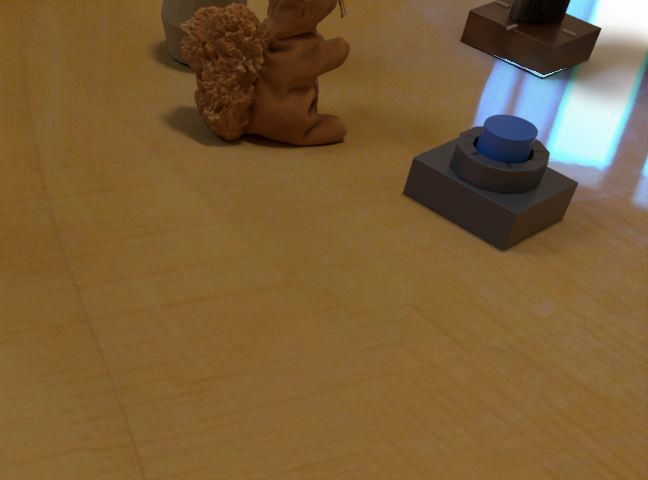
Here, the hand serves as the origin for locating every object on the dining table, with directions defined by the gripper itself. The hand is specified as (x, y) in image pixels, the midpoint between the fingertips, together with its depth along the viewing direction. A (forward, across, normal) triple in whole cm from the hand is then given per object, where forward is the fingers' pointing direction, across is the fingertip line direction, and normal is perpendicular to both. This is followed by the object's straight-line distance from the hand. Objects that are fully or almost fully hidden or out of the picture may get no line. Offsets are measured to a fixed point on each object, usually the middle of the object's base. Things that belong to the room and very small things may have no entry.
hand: (537, 14), depth 98 cm
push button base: (+3, -28, +16) cm, 32 cm away
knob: (0, 0, 0) cm, 0 cm away
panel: (+3, 0, 0) cm, 3 cm away
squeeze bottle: (+4, -1, +34) cm, 34 cm away
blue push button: (-1, -28, +16) cm, 32 cm away
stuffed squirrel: (+4, -14, +31) cm, 34 cm away
